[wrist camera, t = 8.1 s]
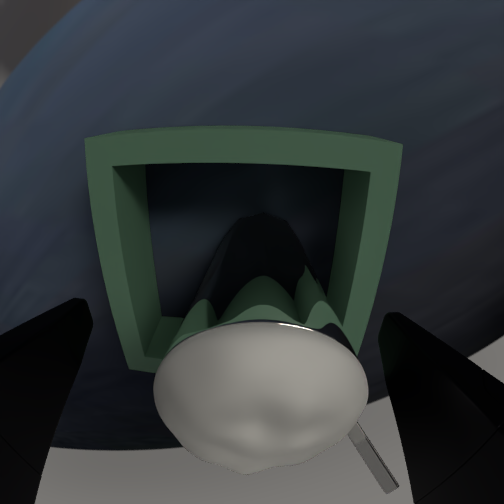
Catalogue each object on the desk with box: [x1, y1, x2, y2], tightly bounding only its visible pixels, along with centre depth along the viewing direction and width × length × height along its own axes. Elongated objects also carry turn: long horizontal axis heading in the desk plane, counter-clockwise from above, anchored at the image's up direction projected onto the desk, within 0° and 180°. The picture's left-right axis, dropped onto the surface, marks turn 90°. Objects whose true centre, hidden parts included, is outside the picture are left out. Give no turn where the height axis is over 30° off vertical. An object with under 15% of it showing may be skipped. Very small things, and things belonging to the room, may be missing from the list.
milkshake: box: [153, 212, 399, 494], centre depth 9 cm, size 5×5×10 cm
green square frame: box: [85, 126, 403, 373], centre depth 12 cm, size 10×10×3 cm
